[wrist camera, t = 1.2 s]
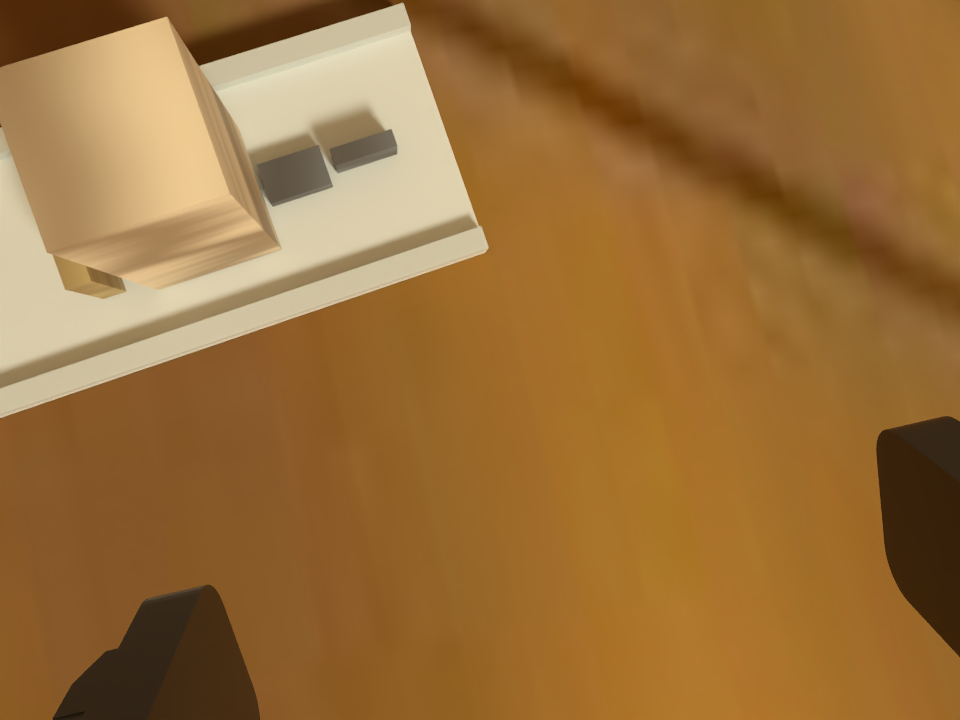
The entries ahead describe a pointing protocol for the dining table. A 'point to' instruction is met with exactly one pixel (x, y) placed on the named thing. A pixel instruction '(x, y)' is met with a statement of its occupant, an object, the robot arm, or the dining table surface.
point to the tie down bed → (298, 223)
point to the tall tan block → (146, 163)
